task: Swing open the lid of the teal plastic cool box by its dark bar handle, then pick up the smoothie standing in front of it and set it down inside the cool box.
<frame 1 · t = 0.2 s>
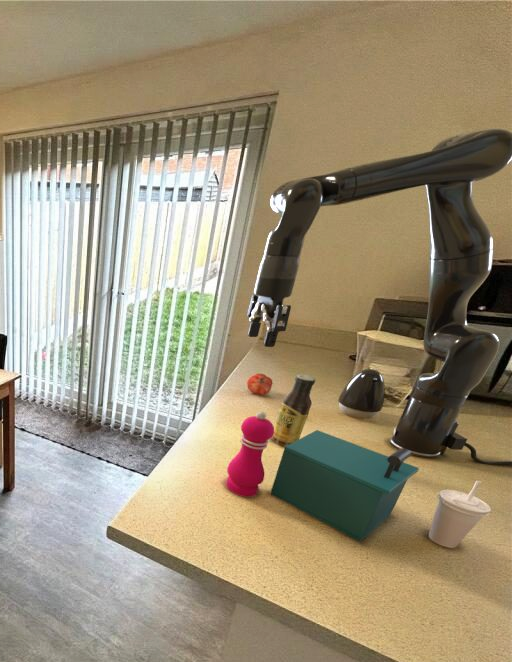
hand: (260, 341, 98), 29 cm above the countertop, tool pointing down, fingers open, 8 cm apart
black dome: (355, 415, 122), on the countertop
tomato: (256, 393, 138), on the countertop
cool box: (327, 504, 85), on the countertop
sauce bottle: (283, 443, 108), on the countertop
smoothie: (441, 541, 75), on the countertop
lid: (352, 448, 79), point 15 cm above the countertop, hinge at 0.0°
pepper mill: (240, 489, 91), on the countertop
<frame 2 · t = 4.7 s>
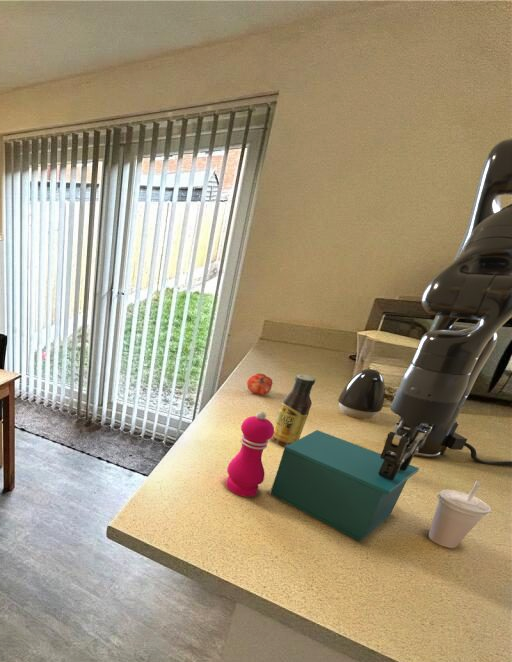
hand: (392, 472, 74), 13 cm above the countertop, tool pointing down, fingers closed on lid, 5 cm apart
lid: (352, 448, 79), point 15 cm above the countertop, hinge at -0.1°, touching gripper
everything else where it was.
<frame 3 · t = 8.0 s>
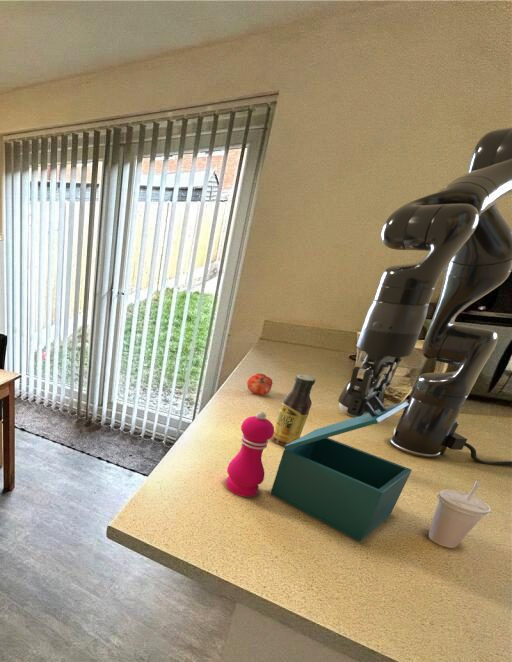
hand: (361, 410, 76), 23 cm above the countertop, tool pointing down, fingers closed on lid, 5 cm apart
lid: (335, 416, 80), point 20 cm above the countertop, hinge at 45.4°, touching gripper
everything else where it was.
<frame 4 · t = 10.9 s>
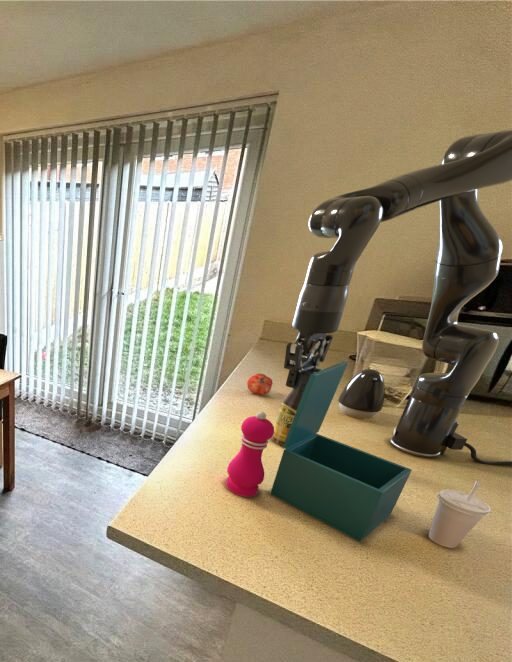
hand: (298, 384, 85), 24 cm above the countertop, tool pointing down, fingers closed on lid, 5 cm apart
lid: (302, 400, 85), point 21 cm above the countertop, hinge at 86.9°, touching gripper
everything else where it was.
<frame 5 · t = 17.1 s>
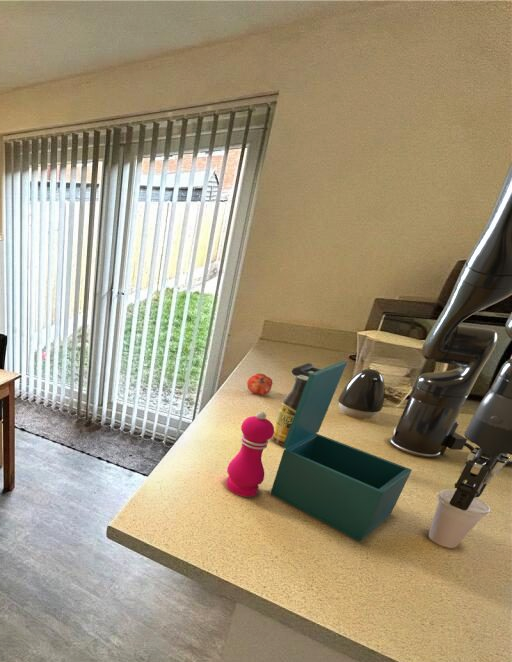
hand: (464, 500, 71), 10 cm above the countertop, tool pointing down, fingers closed on smoothie, 6 cm apart
smoothie: (441, 541, 75), on the countertop, touching gripper
lid: (302, 400, 85), point 21 cm above the countertop, hinge at 87.5°
everything else where it was.
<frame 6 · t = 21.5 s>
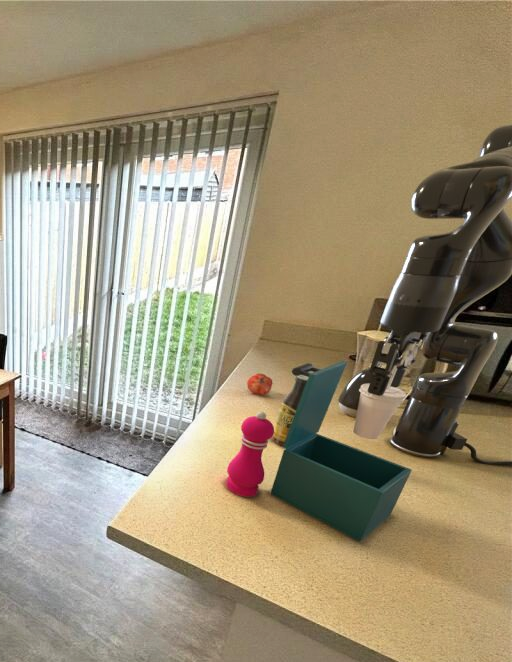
hand: (383, 389, 73), 28 cm above the countertop, tool pointing down, fingers closed on smoothie, 6 cm apart
smoothie: (365, 435, 77), point 18 cm above the countertop, touching gripper
everything else where it was.
when the fingers open (11 cm above the countertop, at t = 25.9 s): smoothie stays where it is, resting on cool box.
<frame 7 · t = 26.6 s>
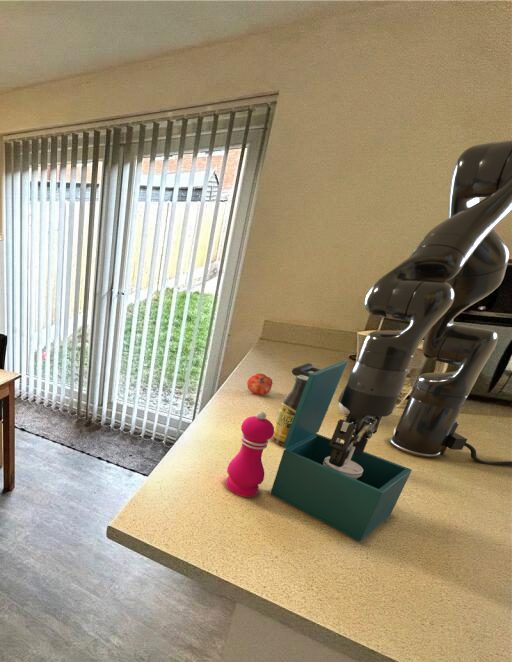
hand: (345, 458, 80), 12 cm above the countertop, tool pointing down, fingers open, 8 cm apart
smoothie: (328, 502, 85), point 1 cm above the countertop, touching cool box
everything else where it was.
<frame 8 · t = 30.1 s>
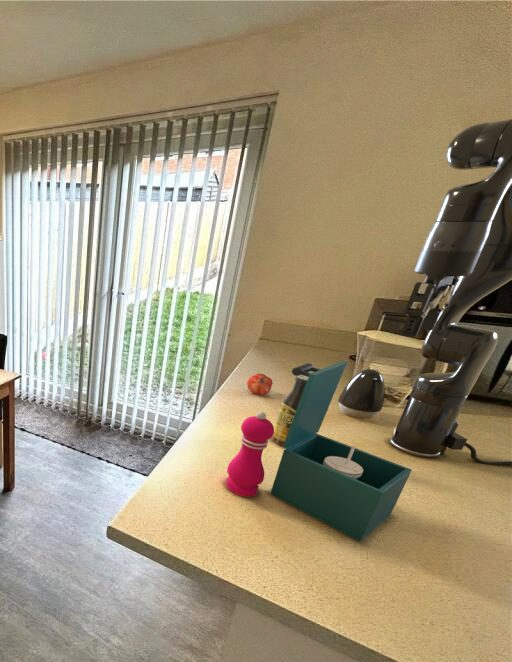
hand: (416, 332, 78), 36 cm above the countertop, tool pointing down, fingers open, 8 cm apart
nothing on the countertop moved.
at the end: lid at +88° (first picture: +0°); smoothie 0.2 cm from the cool box (horizontally); smoothie tilted 0° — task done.
